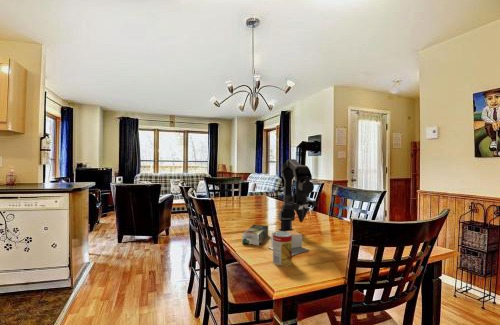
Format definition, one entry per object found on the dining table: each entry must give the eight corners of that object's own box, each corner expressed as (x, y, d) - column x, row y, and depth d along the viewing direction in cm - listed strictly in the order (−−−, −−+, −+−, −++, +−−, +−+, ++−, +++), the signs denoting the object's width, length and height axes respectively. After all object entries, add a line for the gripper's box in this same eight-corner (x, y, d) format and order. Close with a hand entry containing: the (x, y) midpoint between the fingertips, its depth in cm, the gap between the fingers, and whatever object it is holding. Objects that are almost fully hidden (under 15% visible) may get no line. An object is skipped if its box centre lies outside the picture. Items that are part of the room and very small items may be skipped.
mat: (286, 243, 136) (286, 242, 136) (308, 250, 125) (308, 249, 125) (268, 248, 128) (268, 247, 128) (290, 256, 117) (290, 255, 117)
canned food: (295, 262, 111) (295, 233, 111) (284, 267, 105) (284, 237, 105) (280, 257, 116) (280, 230, 116) (269, 262, 110) (269, 233, 110)
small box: (302, 234, 129) (278, 237, 124) (302, 246, 129) (278, 250, 124) (293, 229, 136) (271, 232, 131) (293, 242, 136) (271, 245, 131)
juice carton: (259, 246, 131) (259, 234, 131) (240, 244, 134) (240, 232, 134) (268, 236, 150) (268, 225, 150) (252, 234, 153) (252, 224, 153)
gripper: (300, 188, 144) (300, 216, 144) (276, 190, 132) (276, 221, 132) (317, 190, 136) (317, 220, 136) (293, 193, 124) (293, 226, 124)
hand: (301, 222), depth 132 cm, fingers closed
